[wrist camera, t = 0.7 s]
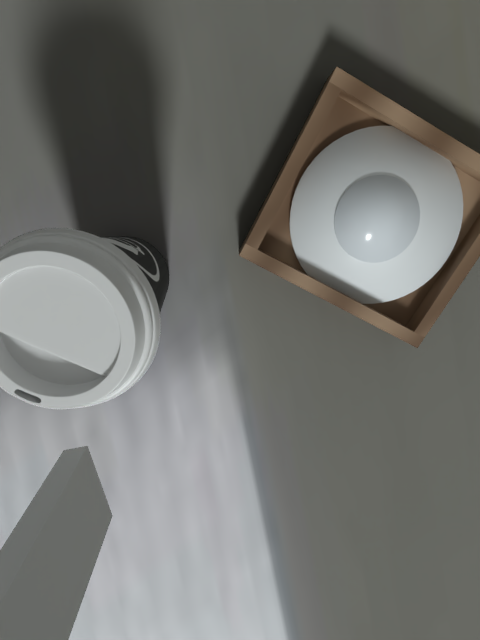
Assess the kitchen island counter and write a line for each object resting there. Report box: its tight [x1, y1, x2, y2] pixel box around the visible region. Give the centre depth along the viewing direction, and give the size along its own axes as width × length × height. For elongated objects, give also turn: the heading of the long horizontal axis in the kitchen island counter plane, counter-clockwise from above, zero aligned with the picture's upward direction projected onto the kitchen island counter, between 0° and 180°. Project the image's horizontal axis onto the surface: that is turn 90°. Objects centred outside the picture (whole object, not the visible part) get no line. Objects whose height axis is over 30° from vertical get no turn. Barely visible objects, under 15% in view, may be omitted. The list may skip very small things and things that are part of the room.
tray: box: [239, 67, 480, 348], centre depth 31 cm, size 16×14×3 cm
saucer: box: [289, 126, 463, 304], centre depth 31 cm, size 13×13×1 cm
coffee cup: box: [0, 228, 169, 409], centre depth 27 cm, size 10×10×15 cm
